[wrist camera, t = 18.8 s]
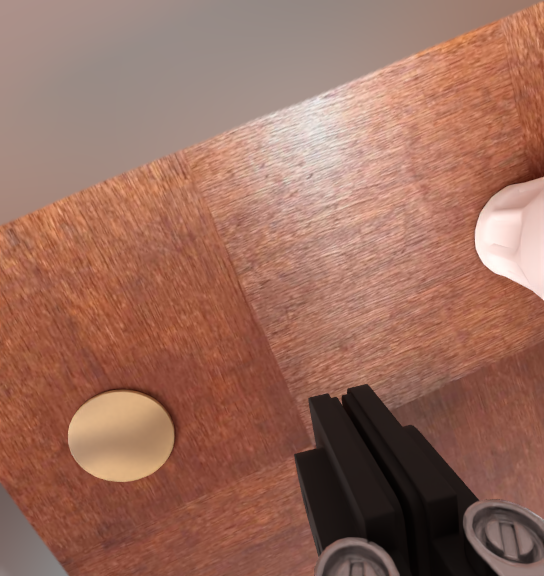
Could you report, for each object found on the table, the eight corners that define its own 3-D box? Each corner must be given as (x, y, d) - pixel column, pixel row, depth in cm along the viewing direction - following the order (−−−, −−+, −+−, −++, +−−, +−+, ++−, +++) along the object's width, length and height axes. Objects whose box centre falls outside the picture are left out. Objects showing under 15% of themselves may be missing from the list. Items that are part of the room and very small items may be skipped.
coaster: (46, 430, 31) (44, 432, 31) (129, 369, 31) (128, 371, 31) (117, 496, 34) (115, 499, 33) (195, 440, 33) (194, 442, 33)
